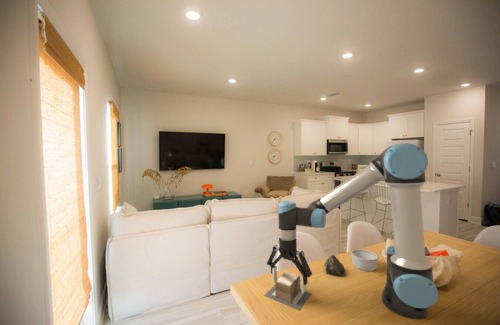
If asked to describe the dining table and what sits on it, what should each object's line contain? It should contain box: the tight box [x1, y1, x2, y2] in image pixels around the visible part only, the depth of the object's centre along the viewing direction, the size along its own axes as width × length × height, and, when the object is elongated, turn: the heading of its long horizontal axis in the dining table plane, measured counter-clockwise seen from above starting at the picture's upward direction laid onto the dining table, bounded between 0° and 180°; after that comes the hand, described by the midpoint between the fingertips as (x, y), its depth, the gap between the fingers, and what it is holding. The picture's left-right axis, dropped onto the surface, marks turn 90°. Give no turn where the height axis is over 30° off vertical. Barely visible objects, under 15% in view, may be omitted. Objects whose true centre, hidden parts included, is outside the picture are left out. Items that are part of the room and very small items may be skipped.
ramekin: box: [350, 248, 379, 272], centre depth 120 cm, size 13×13×7 cm
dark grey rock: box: [323, 254, 346, 277], centre depth 114 cm, size 11×9×10 cm
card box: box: [274, 271, 301, 303], centre depth 96 cm, size 10×7×7 cm
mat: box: [263, 284, 312, 311], centre depth 96 cm, size 16×13×1 cm
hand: (288, 286), depth 95 cm, fingers open, 13 cm apart
